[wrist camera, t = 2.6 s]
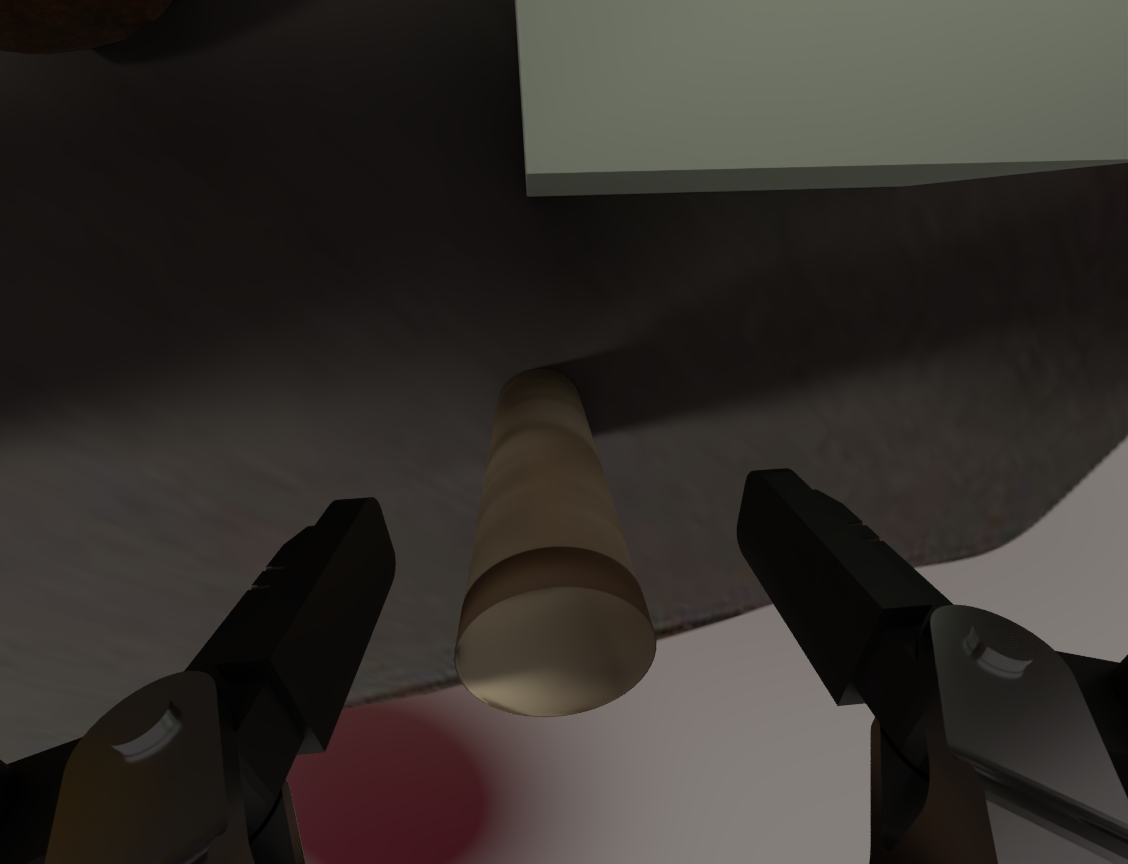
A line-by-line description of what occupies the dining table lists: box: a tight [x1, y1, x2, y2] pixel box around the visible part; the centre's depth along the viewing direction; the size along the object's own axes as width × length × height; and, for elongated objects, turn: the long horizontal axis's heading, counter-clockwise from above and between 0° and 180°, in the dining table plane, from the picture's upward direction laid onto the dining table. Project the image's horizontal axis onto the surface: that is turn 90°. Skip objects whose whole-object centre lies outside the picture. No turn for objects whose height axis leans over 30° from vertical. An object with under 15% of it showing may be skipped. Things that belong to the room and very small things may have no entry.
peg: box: [454, 369, 656, 717], centre depth 11 cm, size 3×3×10 cm
